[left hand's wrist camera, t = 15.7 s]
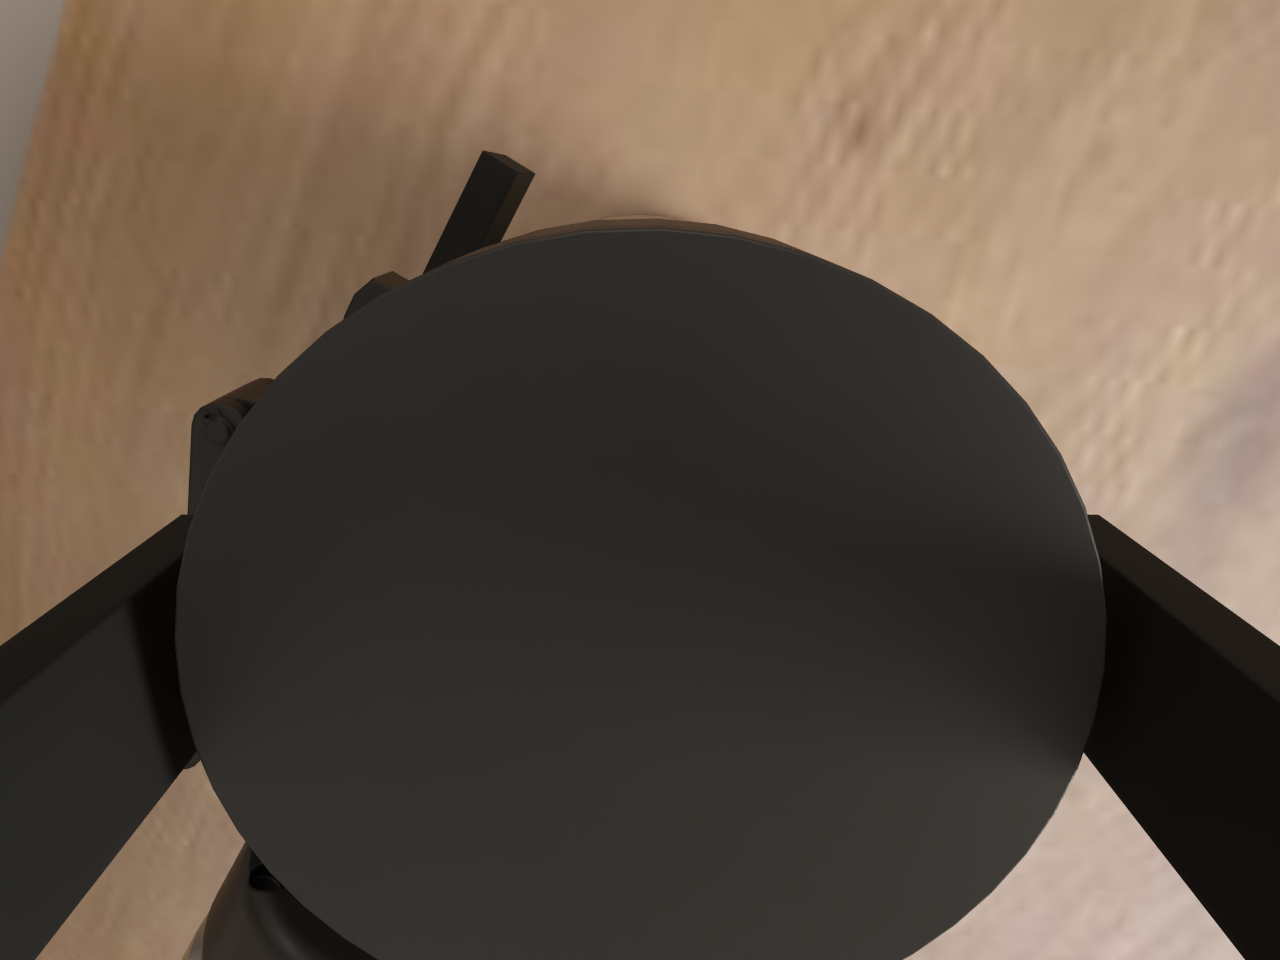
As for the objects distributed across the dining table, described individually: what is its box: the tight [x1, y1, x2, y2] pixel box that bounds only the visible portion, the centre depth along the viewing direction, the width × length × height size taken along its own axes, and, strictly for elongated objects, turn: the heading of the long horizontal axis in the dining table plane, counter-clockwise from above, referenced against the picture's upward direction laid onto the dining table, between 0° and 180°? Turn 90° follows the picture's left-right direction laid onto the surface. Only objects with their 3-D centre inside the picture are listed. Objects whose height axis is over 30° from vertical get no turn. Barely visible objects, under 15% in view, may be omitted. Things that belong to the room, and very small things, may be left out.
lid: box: [174, 218, 1107, 960], centre depth 11 cm, size 11×11×2 cm
